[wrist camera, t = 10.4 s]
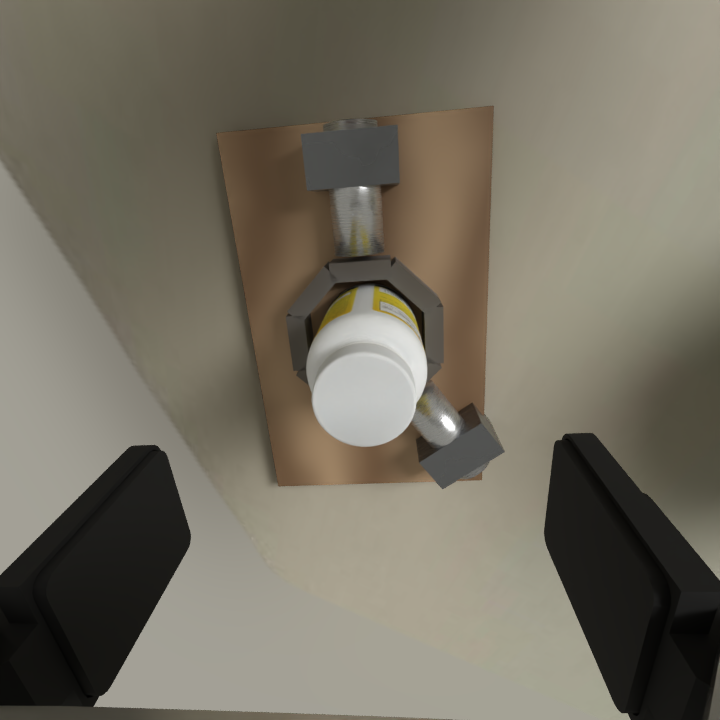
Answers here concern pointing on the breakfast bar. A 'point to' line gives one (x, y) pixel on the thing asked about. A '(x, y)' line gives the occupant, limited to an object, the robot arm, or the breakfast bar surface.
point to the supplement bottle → (367, 366)
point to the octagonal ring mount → (363, 277)
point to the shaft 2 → (452, 438)
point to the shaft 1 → (353, 179)
